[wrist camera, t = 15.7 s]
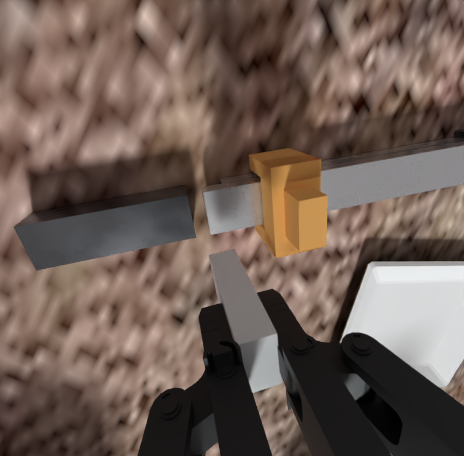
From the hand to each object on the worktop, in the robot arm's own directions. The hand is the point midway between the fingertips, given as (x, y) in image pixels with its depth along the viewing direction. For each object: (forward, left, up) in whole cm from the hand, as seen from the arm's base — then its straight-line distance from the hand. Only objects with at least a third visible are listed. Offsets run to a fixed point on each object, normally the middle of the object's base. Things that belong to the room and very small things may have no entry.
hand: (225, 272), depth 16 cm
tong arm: (+13, +2, -4) cm, 14 cm away
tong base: (+7, +2, -6) cm, 10 cm away
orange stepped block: (+5, +2, -6) cm, 8 cm away
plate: (+20, -17, -6) cm, 26 cm away
